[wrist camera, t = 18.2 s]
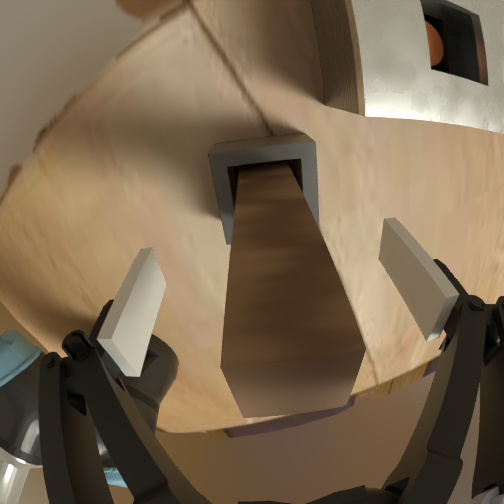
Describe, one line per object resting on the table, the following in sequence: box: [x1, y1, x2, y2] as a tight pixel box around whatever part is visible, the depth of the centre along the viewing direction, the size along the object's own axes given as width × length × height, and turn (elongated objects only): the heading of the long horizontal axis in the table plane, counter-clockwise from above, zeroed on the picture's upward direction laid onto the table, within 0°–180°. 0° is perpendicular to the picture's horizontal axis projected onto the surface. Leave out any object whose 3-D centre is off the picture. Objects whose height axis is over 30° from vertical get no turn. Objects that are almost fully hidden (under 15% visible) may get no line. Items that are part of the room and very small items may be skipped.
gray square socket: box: [208, 134, 319, 245], centre depth 23 cm, size 8×8×4 cm
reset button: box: [425, 21, 444, 66], centre depth 14 cm, size 4×4×4 cm
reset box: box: [311, 0, 504, 134], centre depth 13 cm, size 16×13×9 cm
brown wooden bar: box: [220, 160, 366, 418], centre depth 16 cm, size 4×4×20 cm
